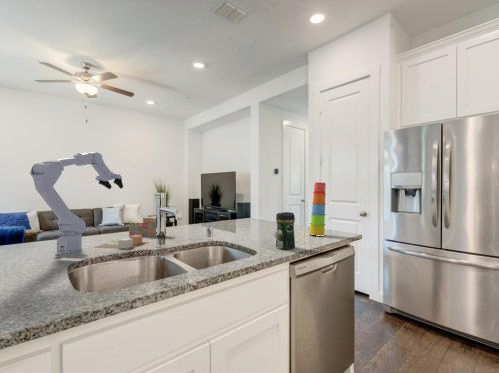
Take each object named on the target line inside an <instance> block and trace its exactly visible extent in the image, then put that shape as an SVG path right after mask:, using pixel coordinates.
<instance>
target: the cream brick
mask: <svg viewBox="0 0 499 373" xmlns="http://www.w3.org/2000/svg"><path fill="white" fill-rule="evenodd" d="M117 241H118V248H125V249H124V250H128V249H127V248H130V247H132V246H133V238H129V237H128V238H127V237H124V238H121V239H118V240H117Z"/></svg>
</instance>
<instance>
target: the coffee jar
mask: <svg viewBox="0 0 499 373" xmlns="http://www.w3.org/2000/svg"><path fill="white" fill-rule="evenodd" d="M275 217H276V218H275V221H276V230H277V231H276V240H275V247H276V248H277V247H278V248H281V249H280V250H284V249H286V250H290V249H289V248H291V249H294V248H295V246H296V240H295V239H296V238H295V229H294V228H295V220H296V219H295V218H296V217H295V214H294V212H289V211H285V212H284V211H282V212H278V213H276V216H275ZM293 247H294V248H293ZM278 248H277V249H278Z"/></svg>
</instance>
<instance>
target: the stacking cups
mask: <svg viewBox="0 0 499 373" xmlns="http://www.w3.org/2000/svg"><path fill="white" fill-rule="evenodd" d="M313 187H314V189H313V197H312V198H313V199H312V203H311V204H312V207H311V208H312V209H311V213H310V214H311V217H310V218H311V219H310V223H309V224H310V229H309V233H310V234H314V235H324V234H325V226H326V224H325V222H326V220H325V218H326V212H325V211H326V194H327V193H326V187H327V186H326V182H317V181H315V182H314V186H313Z"/></svg>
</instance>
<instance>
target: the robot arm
mask: <svg viewBox="0 0 499 373" xmlns="http://www.w3.org/2000/svg"><path fill="white" fill-rule="evenodd" d="M73 165H75V166H77V167H81V166H82V167H83V166H87V165H91V166H92V168H93V169H94V170H95V171H96V173H97V174H98V175H96V177H95V180H96V181H97V182H98V184H99V185H101V186H103V187H105V188H107V189H108V190H111V189H112V188H113V186H112V184H110V181H112V180H113V183H114V184H115V185H116V186H117V187H118V188H119V189H121V190H122V189H123V188H124V185H123V180H122V179H123V178H122V175H121V174H118V173H114V172H113V171H111V170H110V169H109V167H108V166H107V164H106V162H105V161H104V159H103V154H102V153H100V152H97V151H91V152H90V151H86V152H85V153H82V152H77V153H76V154H74V155H73V156H72V157H67V158H57V159H52V160H51V159H50V160H46V161H42V162H41V163H40V162H37V163H34V164H33V165H32V166H31V168H30V172H29V174H30V176H31V177H32V179H33V182H34V188H35V190H36V192H37V193H38V194H39V195H40V197H41V198H42V200H44V202H45V203H46V204H47V205H48V207H49V208H50V210H52V212H53V214H54V215H55V216H56V218H57V221H56V223H57V226H58V229H59V231H60V232H61V236H59V237H58V238H57V240H56V253H55V254H54V255H56V256H60V255H64V254H70V253H73V252H78V251H82V247H83V246H82V242H83V241H82V235H83V233H84V231H85V229H86V226H87V225H86V222H85V220H84V219H81V218H80V217H79V216H78V215H76V214H75V213H74V214H73V212H72V211H71V210H70V208H69V207H68V205H67V204H66V203H65V201H64V200H63V198H62V197H61V195H60V193H58V191H57V189H55V187H54V186H55V185H56V183H57V181H58V180H59V178H60V177H61V176H62V174H63V171H64V170H65V169H64V167H68V166H73Z"/></svg>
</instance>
